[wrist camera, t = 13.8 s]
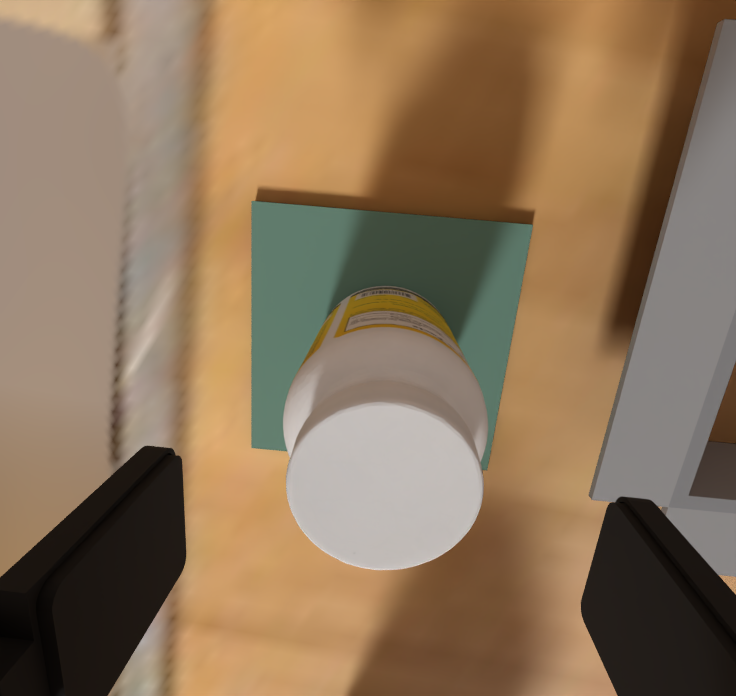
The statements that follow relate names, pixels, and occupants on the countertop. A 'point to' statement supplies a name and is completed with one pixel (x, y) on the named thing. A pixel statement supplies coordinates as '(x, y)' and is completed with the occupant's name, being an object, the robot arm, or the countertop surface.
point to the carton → (686, 338)
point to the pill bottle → (385, 434)
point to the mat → (370, 269)
